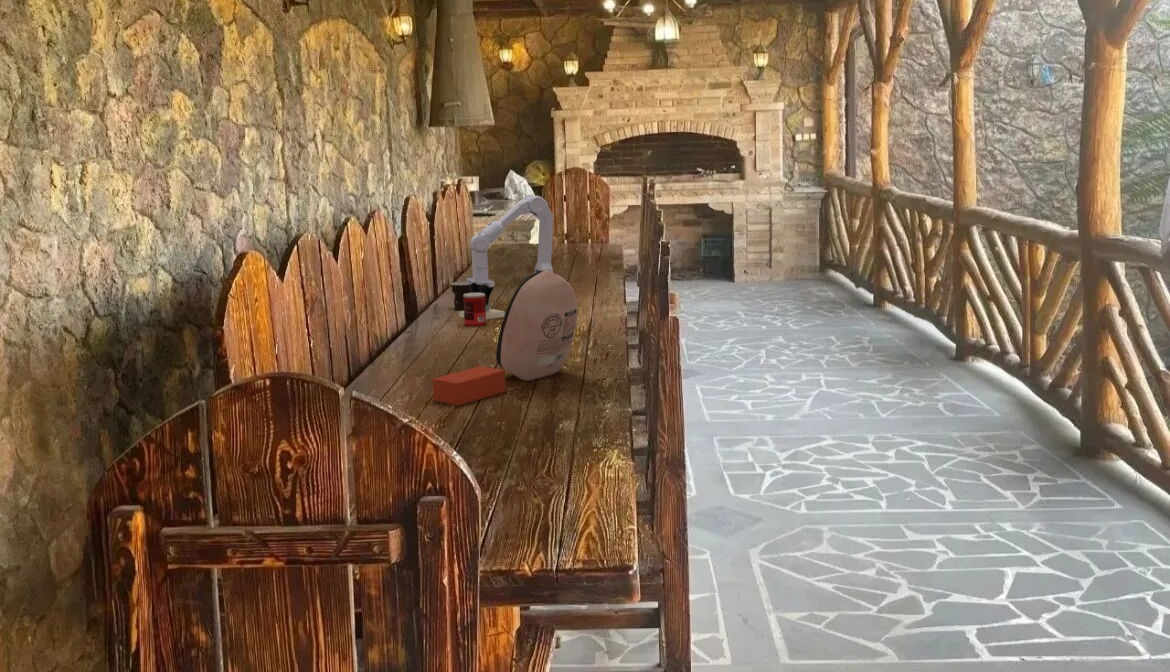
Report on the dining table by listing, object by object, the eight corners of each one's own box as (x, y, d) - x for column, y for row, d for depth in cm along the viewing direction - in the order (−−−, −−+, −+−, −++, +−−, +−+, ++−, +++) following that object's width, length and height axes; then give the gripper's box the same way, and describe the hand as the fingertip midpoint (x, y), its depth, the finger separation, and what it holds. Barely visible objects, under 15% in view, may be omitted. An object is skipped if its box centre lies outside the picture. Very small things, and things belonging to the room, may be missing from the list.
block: (489, 310, 392) (488, 294, 391) (480, 311, 390) (480, 295, 389) (483, 309, 395) (482, 293, 394) (474, 310, 393) (473, 294, 392)
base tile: (504, 316, 392) (504, 311, 392) (478, 320, 385) (477, 315, 384) (485, 312, 401) (485, 307, 401) (459, 316, 393) (459, 311, 393)
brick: (480, 387, 284) (479, 365, 283) (506, 392, 278) (505, 369, 277) (432, 401, 270) (431, 378, 268) (458, 406, 264) (457, 383, 263)
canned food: (488, 322, 380) (487, 292, 378) (483, 326, 372) (482, 295, 370) (467, 322, 381) (465, 292, 379) (462, 326, 373) (461, 295, 371)
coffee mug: (472, 310, 407) (471, 284, 405) (450, 311, 407) (449, 285, 405) (476, 305, 418) (475, 280, 416) (454, 306, 418) (453, 281, 417)
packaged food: (539, 365, 308) (537, 263, 302) (592, 374, 296) (590, 267, 290) (486, 380, 291) (482, 271, 286) (539, 389, 279) (537, 276, 273)
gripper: (459, 267, 392) (461, 303, 395) (482, 270, 382) (484, 307, 384) (475, 265, 397) (476, 301, 399) (498, 268, 386) (499, 305, 389)
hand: (481, 304), depth 392 cm, fingers open, 4 cm apart
